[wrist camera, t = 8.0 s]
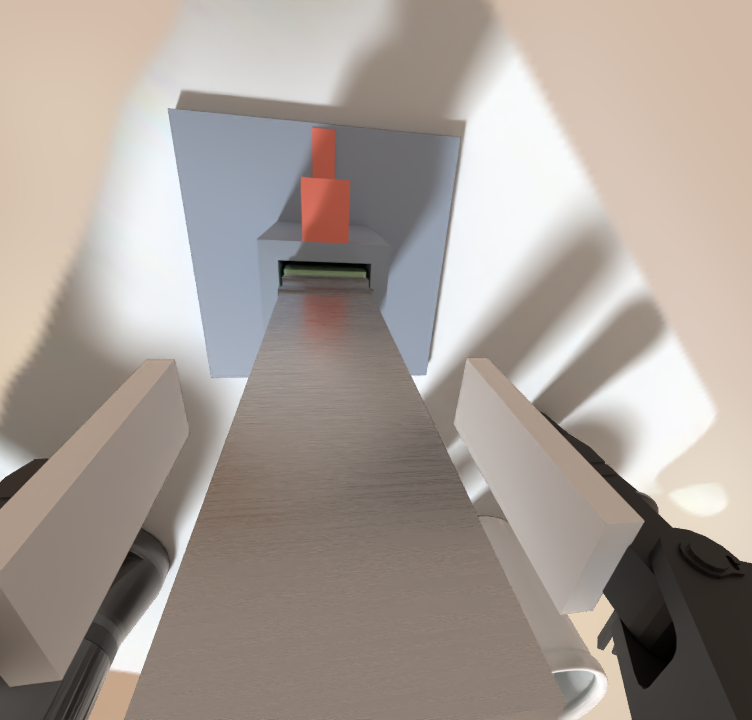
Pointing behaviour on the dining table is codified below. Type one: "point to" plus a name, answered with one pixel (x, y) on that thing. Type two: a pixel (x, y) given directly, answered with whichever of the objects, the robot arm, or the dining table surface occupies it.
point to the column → (339, 547)
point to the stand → (310, 221)
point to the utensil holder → (549, 625)
